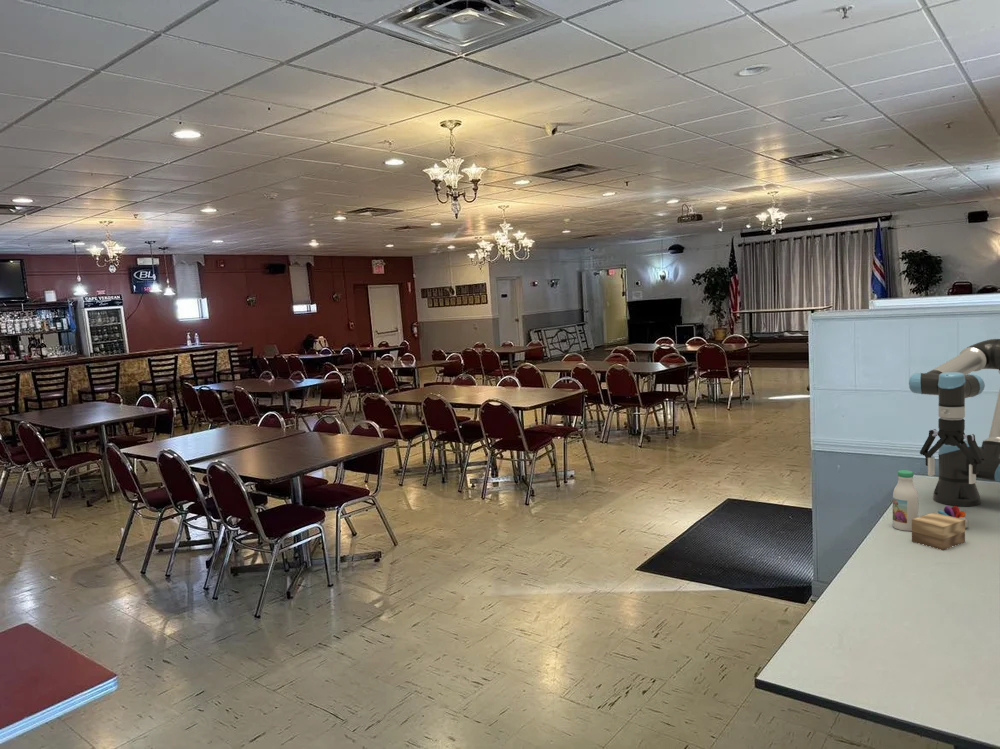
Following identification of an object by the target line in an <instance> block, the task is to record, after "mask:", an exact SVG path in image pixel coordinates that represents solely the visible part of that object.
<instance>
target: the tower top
mask: <svg viewBox="0 0 1000 749" xmlns="http://www.w3.org/2000/svg"><path fill="white" fill-rule="evenodd" d="M912 531H913V532H917V533H921V534H924V535H928V536H932V537H936V538H939V539H946V538H949V537H952V536H955V535H957V534H960V533H963V532H965V533H966V528H965V520H964V519H960V518H956V517H951V516H947V515H943V514H938V512H931V513H927V514H924V515H920V516H918V518H914V519H912ZM912 531H911V532H912Z"/></svg>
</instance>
